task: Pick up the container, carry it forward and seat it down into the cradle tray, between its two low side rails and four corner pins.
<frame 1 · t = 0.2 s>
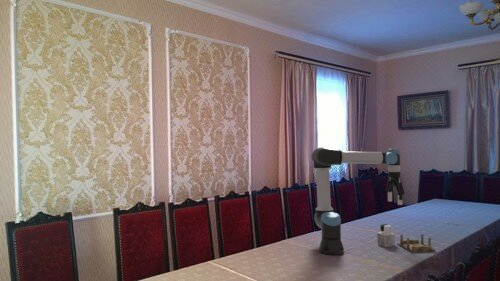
hand: (394, 203, 231), 27 cm above the table, fingers open, 13 cm apart
tray: (415, 247, 219), on the table
container: (386, 244, 227), on the table
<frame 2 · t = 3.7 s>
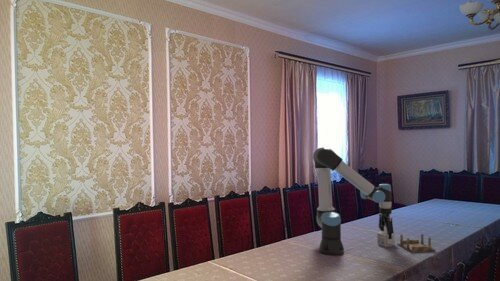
hand: (386, 241, 227), 2 cm above the table, fingers closed on container, 9 cm apart
container: (386, 244, 227), on the table, touching gripper
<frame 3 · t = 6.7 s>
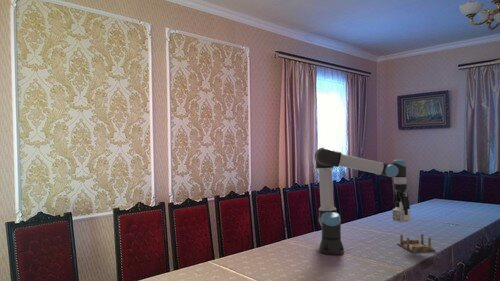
hand: (401, 218, 223), 18 cm above the table, fingers closed on container, 9 cm apart
container: (401, 221, 223), point 16 cm above the table, touching gripper
when the fingers open (5 cm above the table, at t = 9.9 s): container drops 2 cm, resting on tray.
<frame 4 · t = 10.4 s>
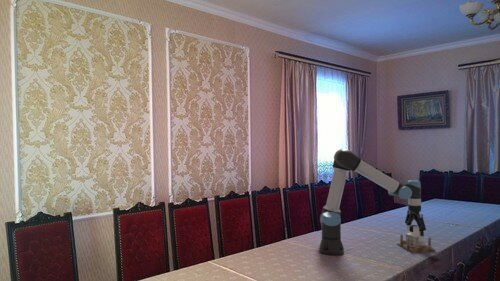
hand: (415, 238, 220), 6 cm above the table, fingers open, 13 cm apart
container: (415, 246, 219), point 1 cm above the table, touching tray
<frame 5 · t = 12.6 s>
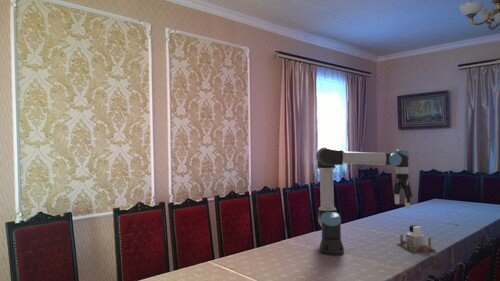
hand: (402, 205, 225), 26 cm above the table, fingers open, 13 cm apart
nothing on the table moved.
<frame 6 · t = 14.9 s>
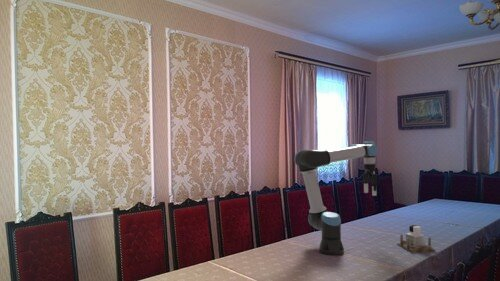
hand: (370, 194, 239), 32 cm above the table, fingers open, 13 cm apart
nothing on the table moved.
at the end: container 0.0 cm off-centre on the tray, point 0.8 cm above the tray's base; container tilted 0°; the gripper is holding nothing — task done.
